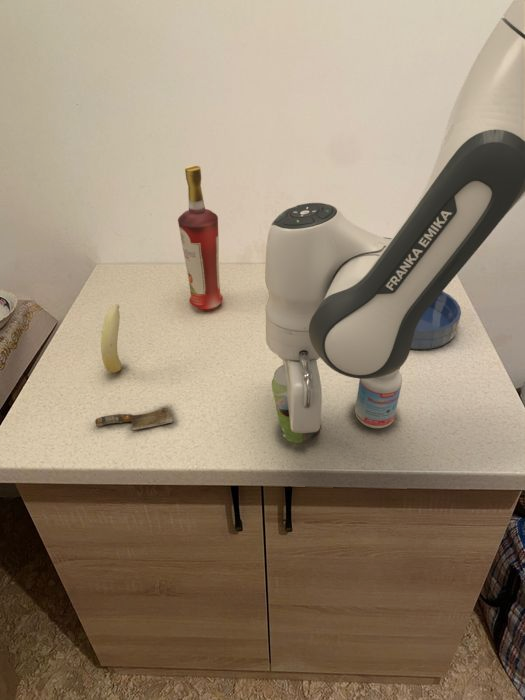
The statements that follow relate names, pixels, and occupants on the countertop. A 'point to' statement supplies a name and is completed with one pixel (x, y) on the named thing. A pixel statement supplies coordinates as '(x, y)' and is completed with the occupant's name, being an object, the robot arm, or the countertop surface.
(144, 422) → the meat cleaver
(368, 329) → the robot arm
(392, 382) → the pill bottle
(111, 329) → the fruit
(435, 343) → the bowl
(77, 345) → the countertop surface
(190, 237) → the liquor
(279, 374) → the beverage can
